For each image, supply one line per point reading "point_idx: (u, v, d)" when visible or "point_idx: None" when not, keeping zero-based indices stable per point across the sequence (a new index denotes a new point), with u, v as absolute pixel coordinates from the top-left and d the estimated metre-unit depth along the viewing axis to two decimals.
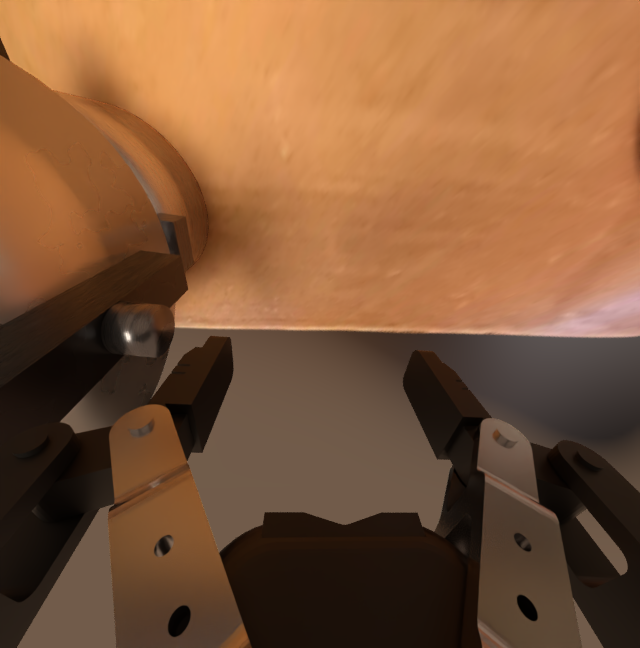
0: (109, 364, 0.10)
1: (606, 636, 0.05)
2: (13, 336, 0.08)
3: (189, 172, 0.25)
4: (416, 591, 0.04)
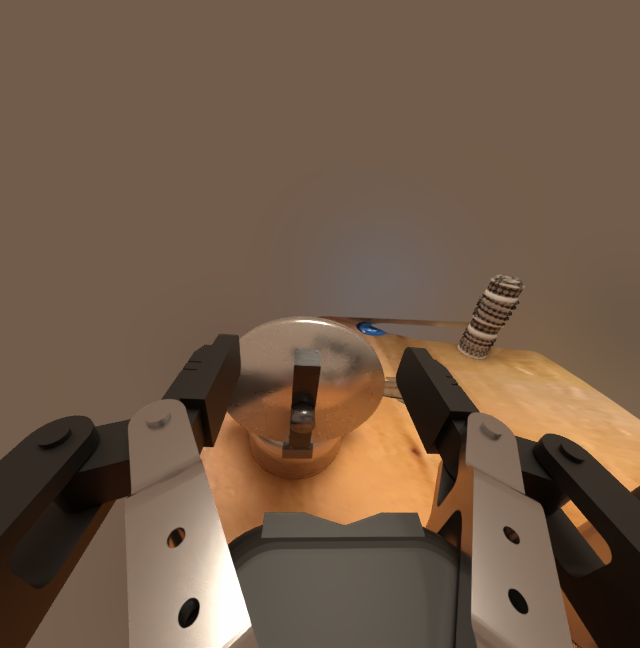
0: (293, 401, 0.23)
1: (593, 623, 0.05)
2: None
3: (320, 470, 0.39)
4: (416, 591, 0.04)
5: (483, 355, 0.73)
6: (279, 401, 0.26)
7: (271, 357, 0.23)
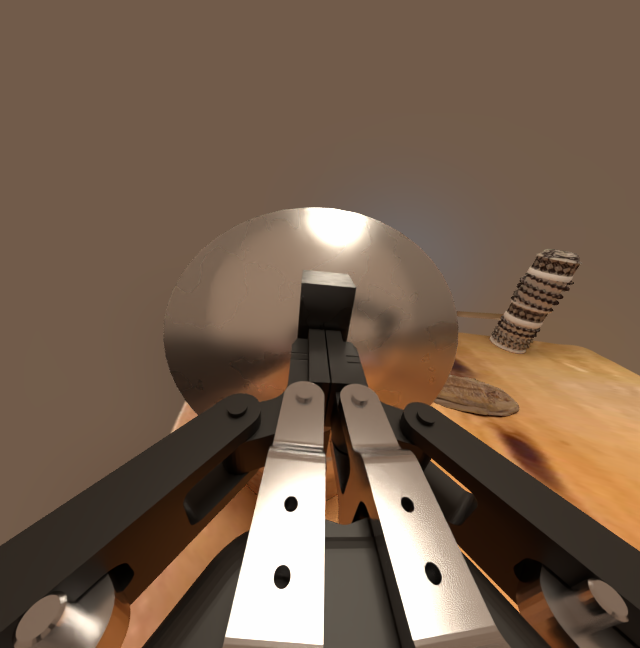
0: None
1: (474, 550, 0.06)
2: None
3: (332, 495, 0.27)
4: None
5: (523, 348, 0.61)
6: (273, 380, 0.15)
7: (258, 287, 0.13)
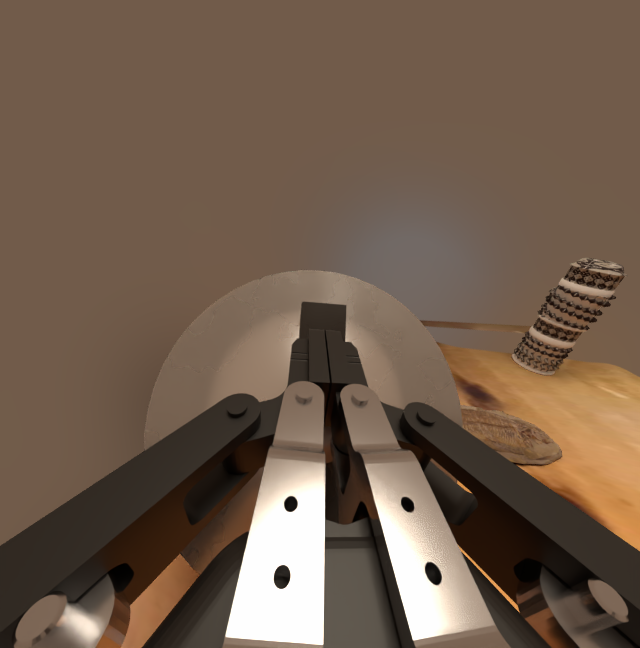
0: None
1: (474, 550, 0.06)
2: None
3: None
4: None
5: (552, 369, 0.54)
6: None
7: (261, 328, 0.14)
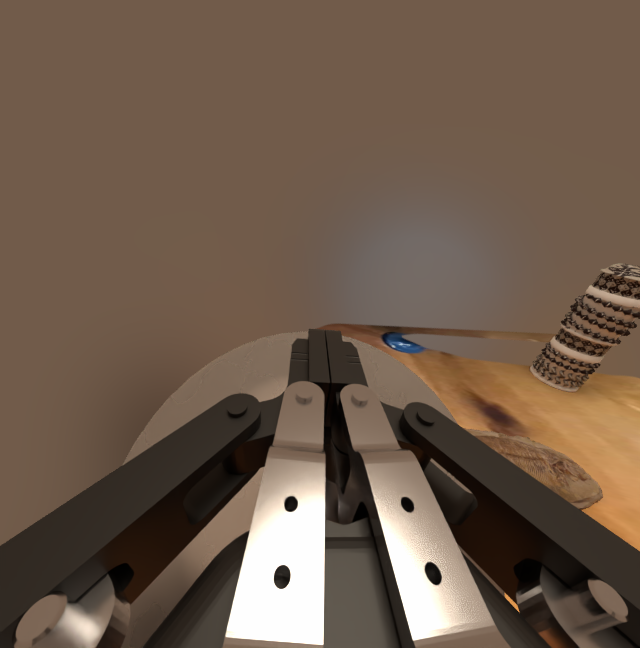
0: None
1: (475, 550, 0.06)
2: None
3: None
4: None
5: (576, 386, 0.49)
6: None
7: (253, 394, 0.13)
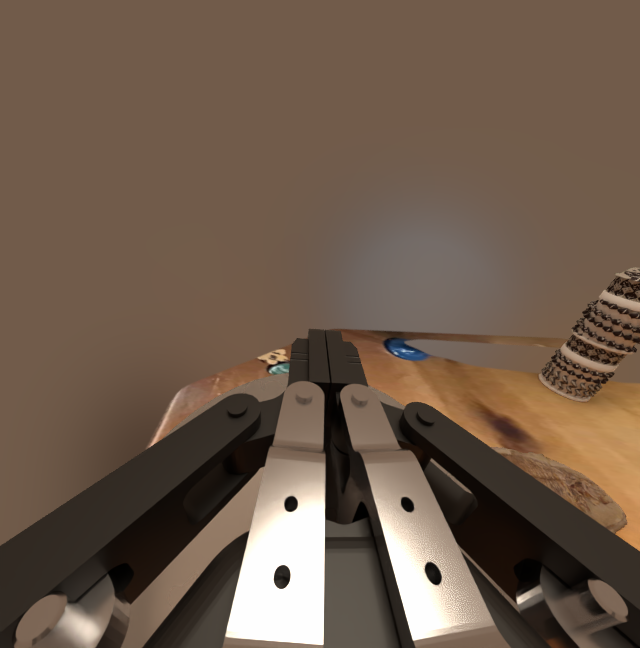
0: None
1: (474, 550, 0.06)
2: None
3: None
4: None
5: (589, 395, 0.47)
6: None
7: None
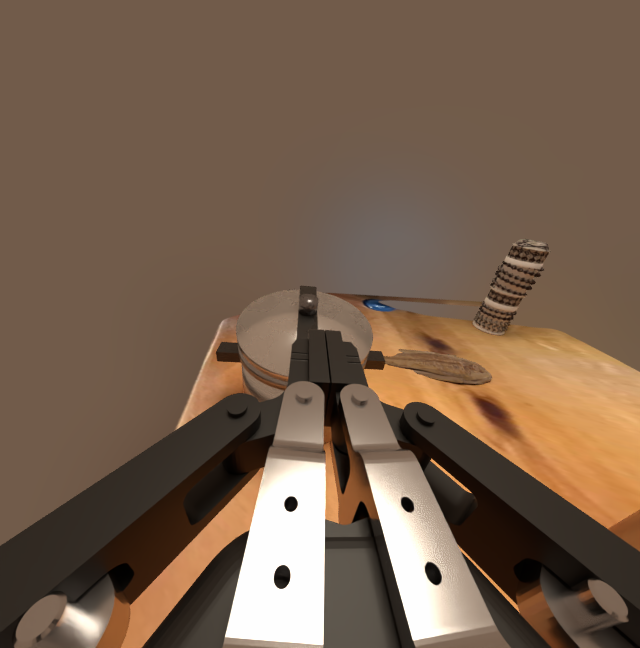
0: None
1: (474, 551, 0.06)
2: None
3: (328, 440, 0.33)
4: None
5: (502, 330, 0.67)
6: (286, 329, 0.31)
7: (283, 302, 0.35)
